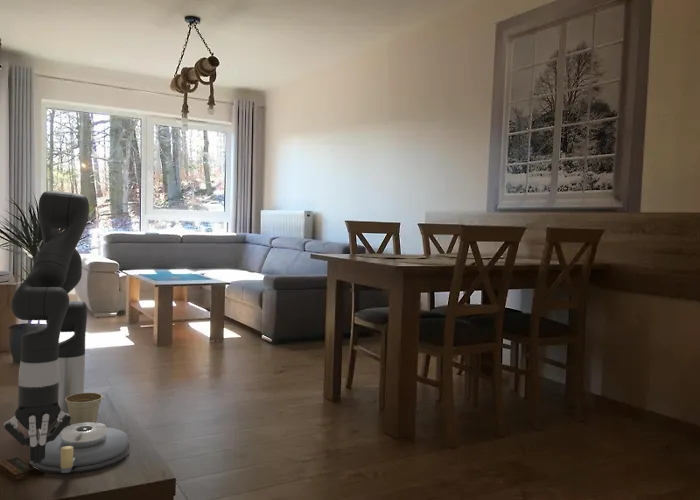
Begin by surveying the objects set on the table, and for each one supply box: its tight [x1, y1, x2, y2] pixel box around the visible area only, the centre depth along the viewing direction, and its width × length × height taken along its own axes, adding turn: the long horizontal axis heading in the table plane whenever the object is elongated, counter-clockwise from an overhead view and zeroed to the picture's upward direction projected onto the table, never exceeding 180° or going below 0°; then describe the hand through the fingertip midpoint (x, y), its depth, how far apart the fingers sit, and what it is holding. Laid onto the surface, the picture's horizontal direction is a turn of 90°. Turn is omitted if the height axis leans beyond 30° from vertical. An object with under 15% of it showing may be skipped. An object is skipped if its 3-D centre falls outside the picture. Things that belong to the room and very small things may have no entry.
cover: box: [61, 422, 107, 449], centre depth 139 cm, size 10×10×3 cm
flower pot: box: [65, 392, 103, 425], centre depth 158 cm, size 9×9×9 cm
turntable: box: [36, 427, 129, 473], centre depth 137 cm, size 26×21×6 cm
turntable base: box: [29, 442, 131, 475], centre depth 139 cm, size 22×22×1 cm
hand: (36, 461), depth 121 cm, fingers closed
